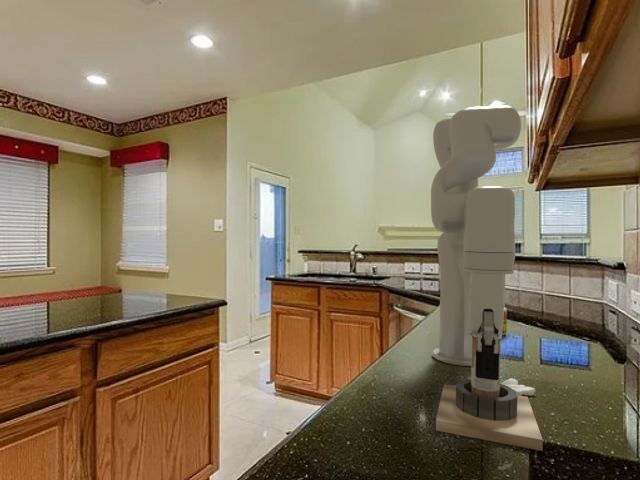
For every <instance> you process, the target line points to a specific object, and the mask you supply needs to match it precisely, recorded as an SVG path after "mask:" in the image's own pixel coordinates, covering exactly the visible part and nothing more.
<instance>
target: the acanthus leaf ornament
mask: <svg viewBox="0 0 640 480" xmlns="http://www.w3.org/2000/svg"><path fill="white" fill-rule="evenodd" d="M500 384H503V385H506V386H508V387H510V388H512V389H513V390H515V391H516V393H517V395H518V396H523V395H524V396H534V394H535V391H536V388H534V387H531V386H526V385H525V384H519V382H518V380H517V379H515V378H513V377H511V378H510V377H509V378H508V379H506V380H505V381H503V382H500Z"/></svg>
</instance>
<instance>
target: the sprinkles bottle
mask: <svg viewBox="0 0 640 480" xmlns="http://www.w3.org/2000/svg"><path fill="white" fill-rule="evenodd" d="M497 331H498V329H497ZM502 336H503V335H502ZM502 336H501V337H500V338H498V353H499V379H498V380H490V379H483V378H477V377H476V350H478V332H477V334H476V333H472V366H470V371H471V373H470V379H471V393H474V394H477V395H479V396H485V397H492V398H496V397H499V392H500V383H501V341H502V338H503V337H502Z"/></svg>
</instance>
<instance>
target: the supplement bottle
mask: <svg viewBox="0 0 640 480" xmlns="http://www.w3.org/2000/svg"><path fill="white" fill-rule="evenodd" d="M507 321H508V309H507V308H506V307H505V306H504V320H503V331H502V336H504V335H505V336H506V334H507V329H508V328H507V325H508V323H507Z"/></svg>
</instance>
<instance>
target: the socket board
mask: <svg viewBox="0 0 640 480" xmlns="http://www.w3.org/2000/svg"><path fill="white" fill-rule="evenodd" d="M441 391H442V392H441V395H440V400H439V405H438V410H437V413H436V418H435V431H437V432H443V433H449V434H453V435H459V436H463V437H467V438H474V439H477V440H478V439H479V440H484V441H490V442H494V443H498V444H499V443H500V444H505V445H510V446H515V447H519V448H526V449H530V450H536V451H540V452H543V451H544V450H543V446H544V445H543V444H544V443H543V441H544V440H543V437H542V434H541V431H540V428H539V425H538V422H537V419H536V416H535V414H534V412H533V408H532V406H531V402H530V399H529V397H528V396H526V395H524V396H523V395H521V396H518V395H517V393H516V391H515V390H513V389H512V388H510V387H508V386H506V385H503V384H500V392H499V397H496V398H492V397H485V396H479V395H477V394H474V393H471V378H469V379H467V378H466V379H462V380H460V381H457V382H456V385H450V384H445V383H444V384H443V385H442V390H441Z"/></svg>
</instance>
